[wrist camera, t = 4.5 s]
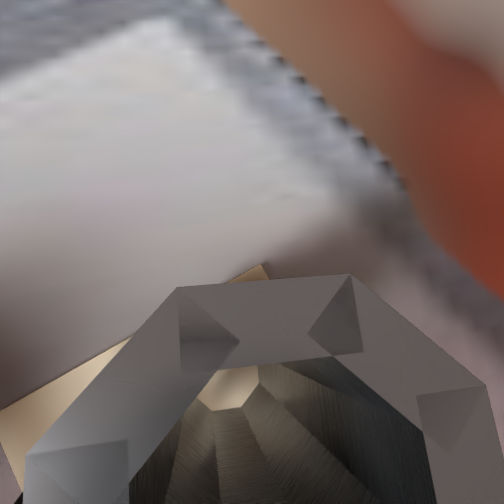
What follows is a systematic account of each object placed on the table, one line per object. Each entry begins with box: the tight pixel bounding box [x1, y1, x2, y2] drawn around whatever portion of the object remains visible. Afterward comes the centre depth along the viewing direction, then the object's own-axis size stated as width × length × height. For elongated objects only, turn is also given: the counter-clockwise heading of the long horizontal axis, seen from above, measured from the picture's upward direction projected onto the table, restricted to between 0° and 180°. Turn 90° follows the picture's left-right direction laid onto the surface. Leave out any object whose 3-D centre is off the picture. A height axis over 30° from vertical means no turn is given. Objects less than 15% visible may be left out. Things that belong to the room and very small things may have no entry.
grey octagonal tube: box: [23, 273, 504, 504], centre depth 10 cm, size 7×7×13 cm
